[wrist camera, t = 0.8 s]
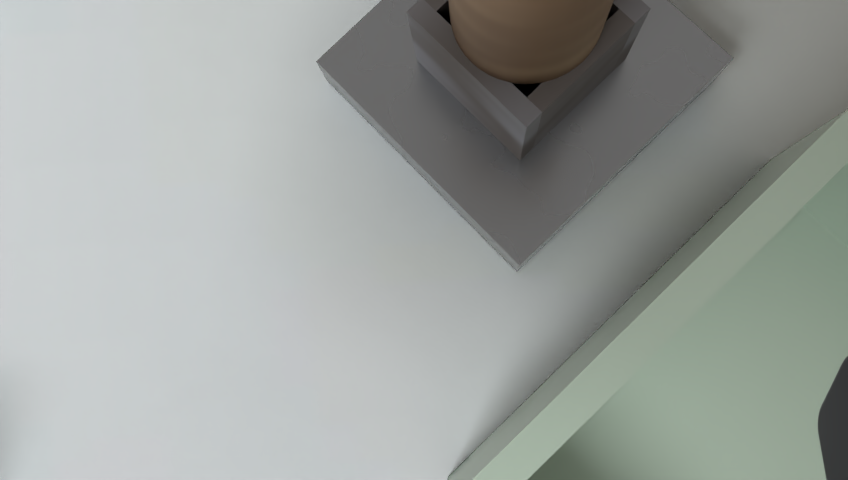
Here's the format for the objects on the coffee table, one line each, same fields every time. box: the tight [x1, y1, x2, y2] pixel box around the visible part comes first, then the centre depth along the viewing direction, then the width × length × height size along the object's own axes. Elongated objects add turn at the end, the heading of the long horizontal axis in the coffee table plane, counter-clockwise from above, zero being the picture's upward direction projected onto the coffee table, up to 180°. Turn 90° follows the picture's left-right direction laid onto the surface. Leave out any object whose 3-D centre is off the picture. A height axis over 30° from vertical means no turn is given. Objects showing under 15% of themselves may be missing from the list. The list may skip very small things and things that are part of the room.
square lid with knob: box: [316, 0, 733, 271], centre depth 20 cm, size 8×8×4 cm
